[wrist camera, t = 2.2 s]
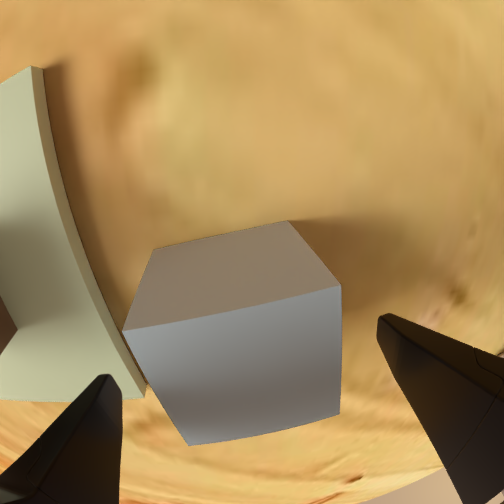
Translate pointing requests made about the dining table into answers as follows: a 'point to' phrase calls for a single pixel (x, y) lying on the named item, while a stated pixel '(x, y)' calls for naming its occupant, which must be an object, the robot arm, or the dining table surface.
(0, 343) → the walnut block
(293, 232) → the grey block
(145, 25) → the dining table surface
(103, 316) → the base board
